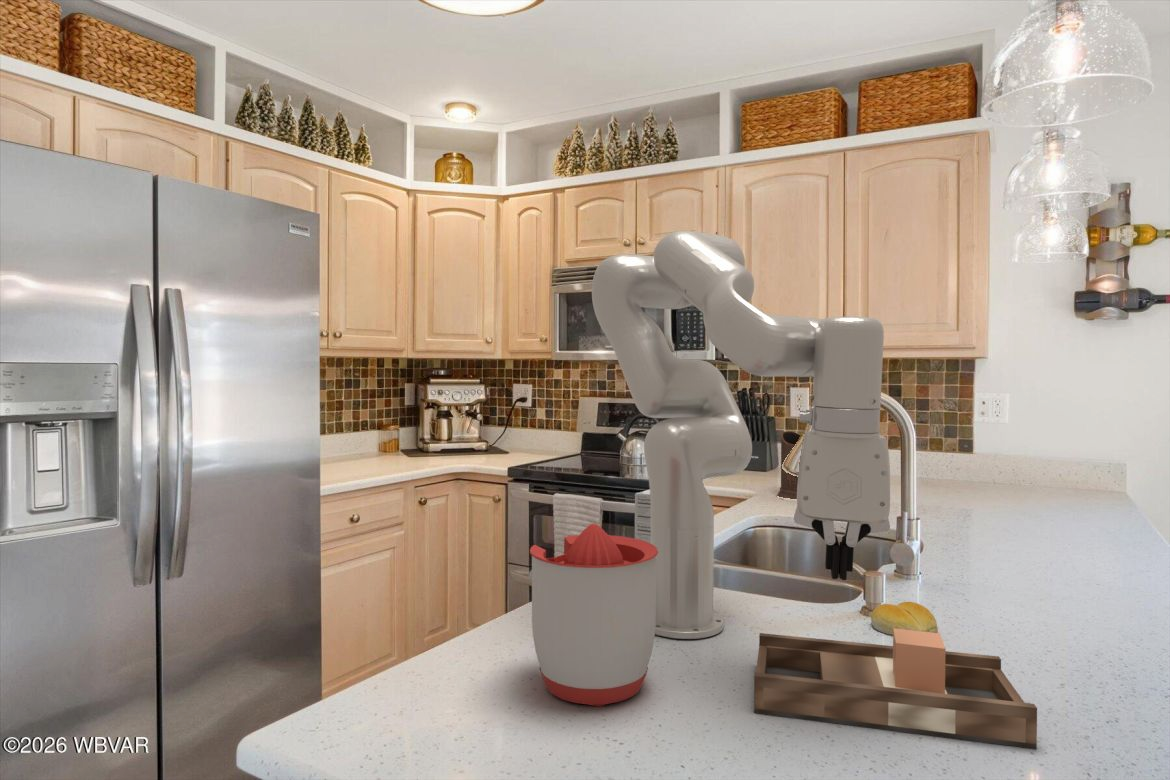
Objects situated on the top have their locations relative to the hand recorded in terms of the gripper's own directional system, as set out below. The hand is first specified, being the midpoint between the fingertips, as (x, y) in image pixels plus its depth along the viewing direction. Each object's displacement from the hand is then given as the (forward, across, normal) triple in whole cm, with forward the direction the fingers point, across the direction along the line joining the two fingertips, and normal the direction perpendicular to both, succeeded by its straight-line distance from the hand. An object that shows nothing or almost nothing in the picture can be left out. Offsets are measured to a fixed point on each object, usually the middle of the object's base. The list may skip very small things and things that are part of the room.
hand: (838, 576), depth 85 cm
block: (+11, +9, -1) cm, 14 cm away
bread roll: (+15, +12, +26) cm, 32 cm away
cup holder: (+18, +2, +143) cm, 144 cm away
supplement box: (+16, -27, +40) cm, 51 cm away
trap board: (+14, +5, -1) cm, 15 cm away
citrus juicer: (+15, -29, -6) cm, 33 cm away
